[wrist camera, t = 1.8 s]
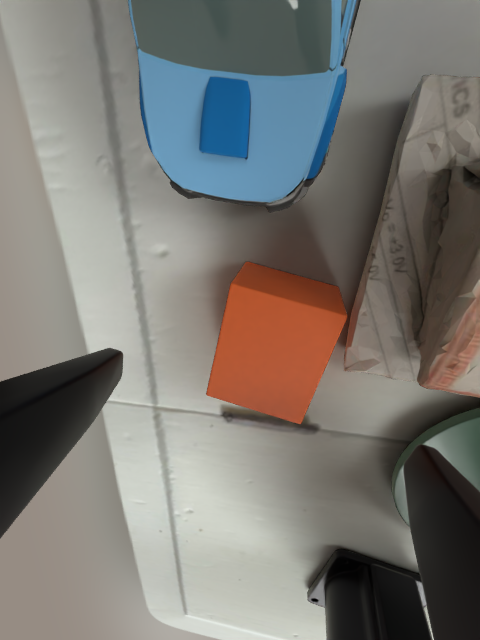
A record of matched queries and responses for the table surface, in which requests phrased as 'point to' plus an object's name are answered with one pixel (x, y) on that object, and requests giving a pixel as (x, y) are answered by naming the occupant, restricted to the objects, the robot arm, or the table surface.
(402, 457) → the bin lid
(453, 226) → the packaged product
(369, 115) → the table surface
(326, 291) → the orange block
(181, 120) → the toy car
